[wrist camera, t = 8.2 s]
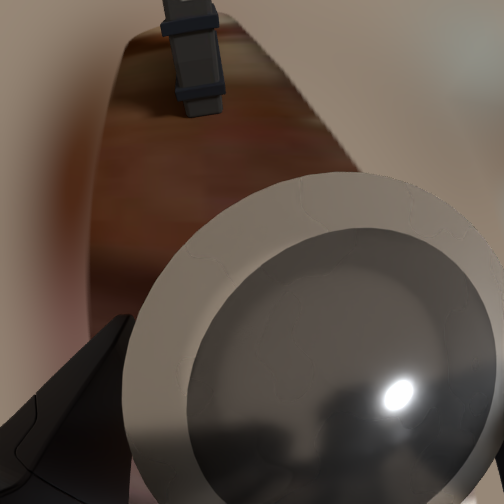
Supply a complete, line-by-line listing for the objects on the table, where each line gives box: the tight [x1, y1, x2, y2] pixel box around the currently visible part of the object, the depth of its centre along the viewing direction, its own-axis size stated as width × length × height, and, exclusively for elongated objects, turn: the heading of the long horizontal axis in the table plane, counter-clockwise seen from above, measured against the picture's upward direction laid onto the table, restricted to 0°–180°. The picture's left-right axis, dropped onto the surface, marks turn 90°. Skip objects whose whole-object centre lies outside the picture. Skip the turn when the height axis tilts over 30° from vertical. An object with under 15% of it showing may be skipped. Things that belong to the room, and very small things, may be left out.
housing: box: [122, 172, 504, 504], centre depth 9 cm, size 7×7×12 cm
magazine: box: [160, 0, 226, 118], centre depth 19 cm, size 4×13×15 cm, turn 8°
